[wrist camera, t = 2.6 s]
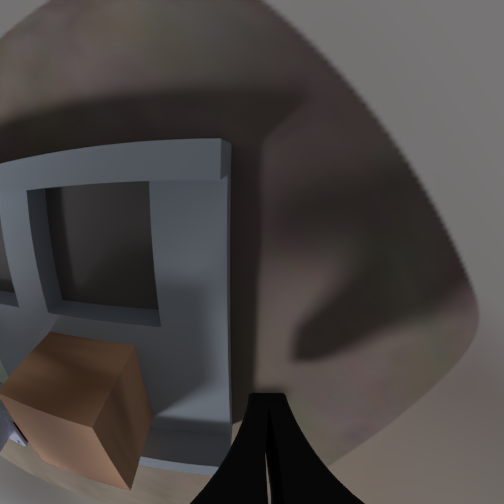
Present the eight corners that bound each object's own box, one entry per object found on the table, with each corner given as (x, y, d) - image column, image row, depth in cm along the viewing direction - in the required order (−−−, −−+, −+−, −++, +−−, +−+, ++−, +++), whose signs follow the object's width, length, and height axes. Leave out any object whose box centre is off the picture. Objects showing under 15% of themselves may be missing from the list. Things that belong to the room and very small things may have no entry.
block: (77, 400, 12) (43, 460, 8) (50, 331, 11) (-4, 392, 7) (153, 416, 12) (130, 490, 8) (135, 345, 11) (92, 427, 7)
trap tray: (-30, 360, 14) (-51, 383, 11) (-75, 189, 10) (-108, 200, 7) (232, 425, 14) (228, 476, 11) (231, 143, 10) (221, 138, 7)
